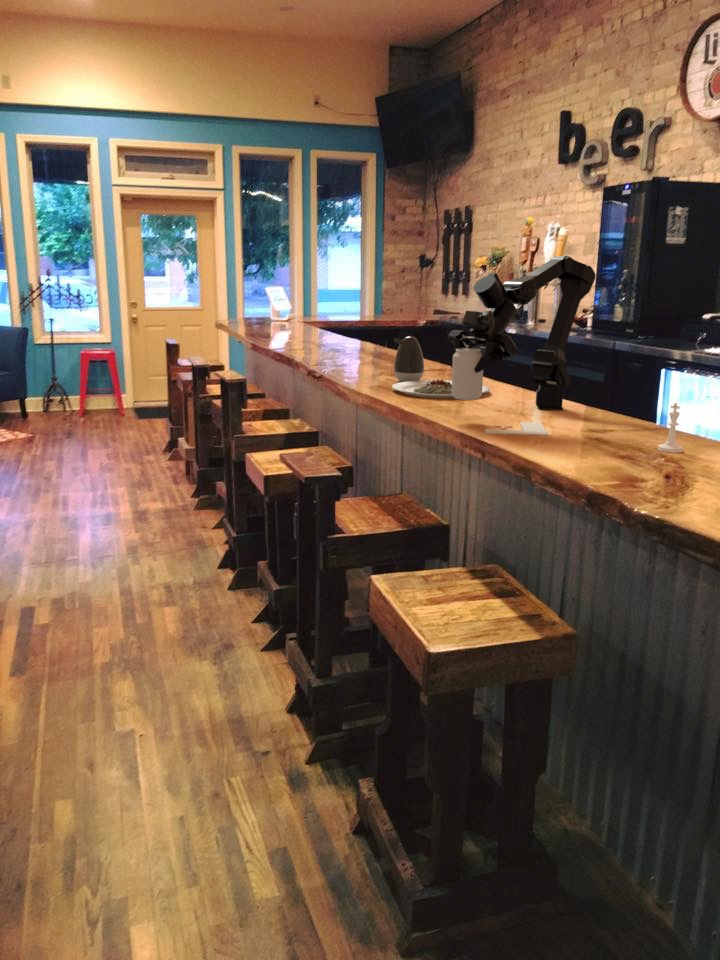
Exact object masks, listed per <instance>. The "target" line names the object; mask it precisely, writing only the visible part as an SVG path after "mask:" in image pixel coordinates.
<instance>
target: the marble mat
mask: <svg viewBox="0 0 720 960" xmlns="http://www.w3.org/2000/svg"><path fill="white" fill-rule="evenodd" d="M519 424H520V427H521V429H522V430H521V429H520V430H518V429H515V430H514V429H508V428H513V426H512V425H504V427H501V425H498V424H496V425H492V427H493V428H499V429H488V428H485V429H484V433H485V434H488V435H489V434H490V435H491V434H492V435H494V434H495V435H517V436H519V435H521V436H524V435H525V436H548V435H549V434H548V432H547V430H546V428H545V427H544V426H543V424H542V422H528V421H524V422H522V421H520V422H519Z"/></svg>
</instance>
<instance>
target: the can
mask: <svg viewBox="0 0 720 960" xmlns="http://www.w3.org/2000/svg"><path fill="white" fill-rule="evenodd" d="M483 354H484V353H483V352H482V348H474V347H473V348H460V349H456V353H455V354H454V353H453V355H452V361H453V366H452V367H451V369H452V370H451V371H452V372H451V381H452V395H453V396H454V398H453V399H457V400H461V401H462V400H463V401H466V400H467V401H471V400H472V401H473V400H478V399H480V397H482V395H483V393H482V385H484V384H483V383H484V379H483V378H484V369H483V370H482V371H480V372H478V373H476V372H475V368H476V365H477V364H478V362H479V360H480V359H481V357H482V356H483Z"/></svg>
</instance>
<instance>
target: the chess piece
mask: <svg viewBox="0 0 720 960" xmlns="http://www.w3.org/2000/svg"><path fill="white" fill-rule="evenodd" d="M677 405H678V403H677V402H674V404H673V405H670V409H673V410H671V411H669V418H670V421H669V422H667V425H669V427H670V428H669V431H668V435H667V439H666V441H665V442H664V443H662V444H661V443H660V444H659V445H658V446H657V450H658V451H661V452H663V453H670V454H671V453H672V454H673V453H674V454H677V453H682V452H683V451H684V450H683V446H681V445H679V444H678V442H676V426H679V425H680V424H679V423H678V422H677V421H678V418H679V416H680V414H681V413H680V412H679V411H677V409H678V410H679V409H680V407H681V406H677Z"/></svg>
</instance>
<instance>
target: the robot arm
mask: <svg viewBox="0 0 720 960" xmlns="http://www.w3.org/2000/svg"><path fill="white" fill-rule="evenodd" d="M555 279H558V280H560V281H559V287H560V290H561V298H560V302H559V304H558V307H557V310H556V314H555V317H554V320H553V322H552V327H551V329H550V332H549V335H548V338H547V341H546V344H545V346H544V347H543V348H542V349H536V351H535V352H534V357H533V360H532V361H531V363H530V364H531V375H532V376H531V377H532V382H533V384H534V385H538V389H536V391H535V402H534V403H535V406H536V407H537V408H538V410H558V411H561V410H562V411H563V410H564V407H563V401H564V400H563V398H564V388H565V389H566V388H569V387H570V384H571V381H572V378H571V376H570V375H569V373H568V372H567V370H566V364H567V359H566V354H565V348H566V346H567V342H568V340H569V336H570V333H571V330H572V327H573V325H574V321H575V318H576V315H577V312H578V310H579V306H580V303H581V301H582V300H583V299H584V298H585V296H587V295H588V294H589V293H590V291H591V289H592V287H593V284H595V283H594V282H595V280H596V272H595V271H594V268H593V267H592V266H590V265H587V264H585V263H583V262H580V261H578V260H576V259H573V258H572V257H571V256H569V255H555V256H553V257H551V258H550V260H548V261H547V262H545V263H544V264H541V266H539V267H537V268H536V269H534V270H532V271H531V272H529V273H528V274H527V275H524V276H521V277H520V276H519V277H516V278H512V279H509V280H506V281H505V282H503V283H502V282H501V280H500V277H499V275H498V274H497V273H496V272H489V273H488V275H487V276H486V275H485V276H483V277H482V278H480V279H479V280H477V281H476V282H475V283H474V285H473V291H474V292H475V294H476V296H477V297H478V298H479V301H480V302H481V303H482V305H483V307H484V308H486V309H490V310H484V311H483V312H482V311H476V310H465V313H464V315H463V318H462V321H461V324H462V325H465V326H466V327H468V328H470V330H469V332H470V333H471V335H473V336H469V335H468V333H467V332H466V331H465V330H459V329H458V330H457V329H453V330H451V331H450V332H449V334H448V335H447V339H448V340H449V341H450V342H451V344H452V346H453V347H454V353H453V355H454V354H455V353H456V349H460V348H473V349H474V347H479V349H485V351H484V352H483V353H482V354H483V356H482V357H481V359H480V360H479V362H478V364H477V365H476V368H475V372H476V373H478V372H480V371H482V370H483V371H484V370H485V369H487V368H489V367H491V366H493V365H495V364H497V363H499V362H501V361H505V360H506V359H513V358H514V357H515V356H516V354H517V352H518V347H517V345H516V344H515V342H514V341H513V340H512V338H511V336H510V335H509V334H508V332H507V331H506V329H507V328H508V326H509V325H510V323H511V322H512V321H521V313H520V309H519V308H516V306H515V305H519V306H520V305H522V306H526V305H528V304H529V303H530V302H531V301H532V300H533V299H534V298H535V297H536V296H537V292H538V291H539V290H540V289H541V288H543V287H544V286H547V285H548V284H549V283H551V282H552V281H554V280H555ZM452 366H453V360H452V361H451V366H450V367H451V368H452Z"/></svg>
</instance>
